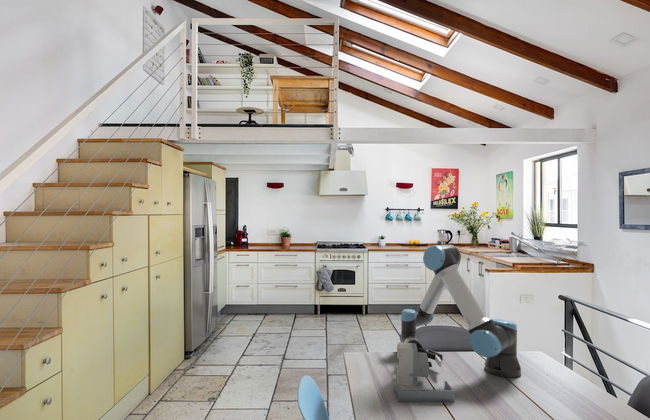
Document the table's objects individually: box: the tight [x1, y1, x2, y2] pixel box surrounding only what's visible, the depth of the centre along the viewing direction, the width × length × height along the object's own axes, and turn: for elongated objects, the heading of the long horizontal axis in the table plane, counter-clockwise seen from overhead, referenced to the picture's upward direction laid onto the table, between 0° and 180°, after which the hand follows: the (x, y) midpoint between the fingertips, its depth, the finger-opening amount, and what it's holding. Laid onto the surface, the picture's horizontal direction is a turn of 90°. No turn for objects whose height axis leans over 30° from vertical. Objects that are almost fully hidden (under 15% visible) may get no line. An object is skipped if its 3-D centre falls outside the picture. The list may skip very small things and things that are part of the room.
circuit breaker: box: [396, 341, 433, 387], centre depth 159 cm, size 8×14×15 cm, turn 81°
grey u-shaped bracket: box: [392, 380, 455, 403], centre depth 146 cm, size 22×9×4 cm, turn 91°
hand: (425, 364), depth 164 cm, fingers open, 13 cm apart
